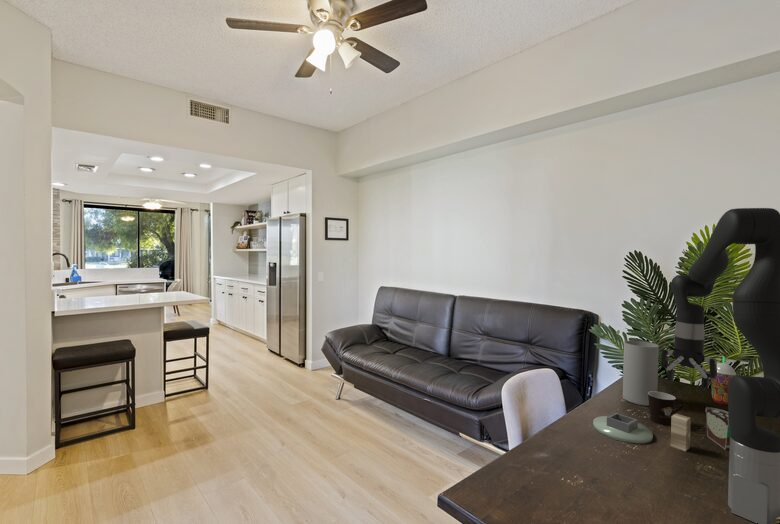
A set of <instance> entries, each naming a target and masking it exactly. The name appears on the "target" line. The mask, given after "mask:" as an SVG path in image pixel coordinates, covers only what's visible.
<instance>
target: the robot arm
mask: <svg viewBox="0 0 780 524" xmlns="http://www.w3.org/2000/svg"><path fill="white" fill-rule="evenodd" d="M734 244H735V245H754V247H755V249H754V250H755V252H754V259H753V263H752V266H751V268H750V269H749V271H748V272H747V274H745V275H744V277H743V278H742V280H741V281H740V282H739V283H738V285H737V286H736V287H735V289H734V292H733V294H732V299H731V300H732V316H733V317H732V319H733V322H734V325H735V326H736V328H737V329H738V331H739V332H740V333H741V335H742V336H743V337H744V338H745V340H747V342H748V343H749V344H750V345H751V347H752V349H754V350H755V352H756V353H757V356H758V357H759V360H760V363H761V366H762V367H761V368H762V373H763V374H762V375H763V376H753V375H740V374H738V375H737V374H736V376H733V377H732V378H731V379H730V381H729V384H728V405H727V408H728V411H727V412H728V421H729V427H730V450H729V453H728V454H729V456H728V458H729V459H728V460H729V461H728V485H727V486H728V487H727V488H728V493H727V494H728V496H727V499H728V500H727V505H728V507H729V509H730V510H731V513H732V514H734V515H737V516H739V517H741V518H743V519H746V520H748V521H750V522H752V523H755V524H757V523H758V524H771V523H774V522H775V521H776V518H777V517H778V516H780V434H778V433H776V432H774V431H772V430H770V429H768V428H765V427H763V426H760V425H759V424H757V417H760V418H761V417H763V418H769V419H770V418H771V419H772V418H773V419H778V420H779V419H780V212H779V210H777V209H776V208H770V207H746V208H745V207H744V208H738V207H737V208H731V209H729V210H727V211H725V212H724V213H723V214H722V215H721V217H720V218H719V219H718V222H717V223H716V225H715V227H714V229H713V231H712V233H711V235H710V237H709V239H708V242H707V244H706V245H705V248H704V250H703V251H702V253H701V254H700V256H699V257H698V258H697V259H696V260H695V261H694V262H693V264H692V265H691V266H690V267H689V269H688V274H677V275H676V276H674V277H673V278H672V279H671V283H670V289H671V292H672V295H673V299H674V301H675V306H676V315H675V317H676V320H675V321H676V322H675V327H674V340H673V341H674V343H673V345H674V346H673V349H674V350H670V349H668V348H665V349H663V350H662V352H661V358H660V359H661V360H660V366H661V367H662V368H664V369H666V371H667V372H666V375H667V376H666V378H667V380H668V381H669V382H670V383H671V382H674V380H675V369H674V368H676V367H677V366H679V365H680V366H681V367H687V368H689V369H696V371H697V372H698V373H699V374H700V375H701V386H700V388H701V390H703V391H705V390H706V389H708V388H709V383H710V379H711V378H715V377H716V376H717V362H718V361H717V358H716V357H706V356H705V354H704V352H705V351H704V350H705V337H706V334H705V308H704V306H702V305H700V304H696V303H692V302H690V301H689V299H688V297H691V298H693V297H694V298H705V297H708V296H710V295H711V294H712V292H713V290H714V287H715V283H716V281H717V279H718V278H720V276H721V275H722V274H723V273H724V272H725V271H726V269H727V268H728V266H729V262H730V260H729V256H728V253H727V250H726V249H727V248H728V247H730V246H731V245H734ZM671 355H672V357H673V358H674V359H675V360H674V361H673V362H672V363H670V364H669V357H670V356H671ZM704 362H706V364H707V365H709V372H708V370H707V369H706V367H705V366H704V364H703V363H704Z"/></svg>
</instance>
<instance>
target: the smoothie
mask: <svg viewBox="0 0 780 524" xmlns="http://www.w3.org/2000/svg"><path fill="white" fill-rule="evenodd" d="M725 359H726V358H725V356H722V362H718V363H717V376H716V377H715V378H710V382H711V397H712V400H713V402H715V403H717V404H719V405H723V404H724V405H725V406H728V384H729V381H730V379H731V378H732V377H733V376H736V375H737V372H736V371H735V369H734V368H733V367H732V366H731V365H730V364H729V363H725Z"/></svg>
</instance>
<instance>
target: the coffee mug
mask: <svg viewBox="0 0 780 524" xmlns="http://www.w3.org/2000/svg"><path fill="white" fill-rule="evenodd" d="M648 400H649V406H648V407H649V416H650V419H649V420H650V421H651V422H653V423H654V424H658V425H661V426H671V416H673V415H674V414H677V412H679V411H681V409H682V408H683V407H684V402H683V400H682V399H679V398H676V397H675V396H674V395H673V394H670V393H666V392H662V391H657V392H656V391H651V392H648ZM677 401H678V402H680V407H678V409H677V408H676V410H675V405H676V402H677Z"/></svg>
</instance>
